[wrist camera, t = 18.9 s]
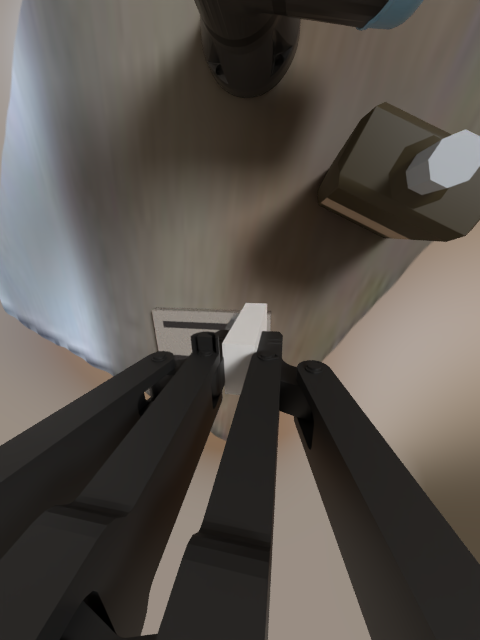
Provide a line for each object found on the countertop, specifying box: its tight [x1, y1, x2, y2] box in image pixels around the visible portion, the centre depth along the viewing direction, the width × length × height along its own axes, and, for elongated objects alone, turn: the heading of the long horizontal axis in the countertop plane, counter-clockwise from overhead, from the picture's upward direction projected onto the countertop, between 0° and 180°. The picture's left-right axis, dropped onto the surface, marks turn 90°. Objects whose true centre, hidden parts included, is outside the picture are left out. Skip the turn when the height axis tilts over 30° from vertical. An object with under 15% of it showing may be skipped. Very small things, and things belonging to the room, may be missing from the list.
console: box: [152, 307, 271, 360], centre depth 56 cm, size 15×28×2 cm, turn 91°
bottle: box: [318, 102, 480, 242], centre depth 30 cm, size 8×16×25 cm, turn 65°
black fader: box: [225, 319, 236, 330], centre depth 50 cm, size 4×3×5 cm
